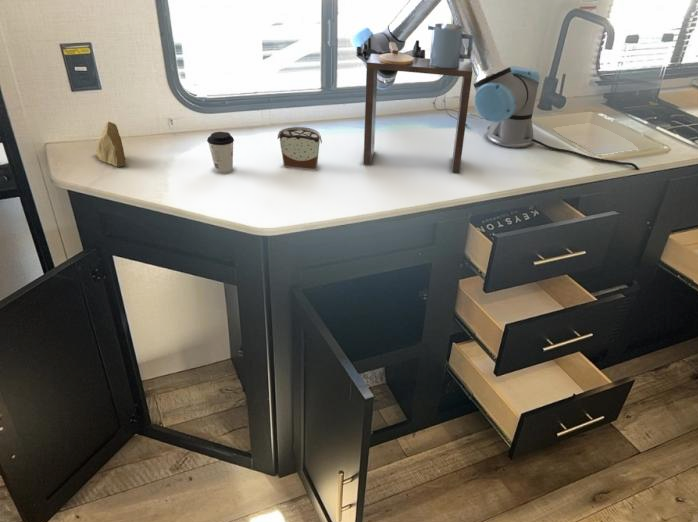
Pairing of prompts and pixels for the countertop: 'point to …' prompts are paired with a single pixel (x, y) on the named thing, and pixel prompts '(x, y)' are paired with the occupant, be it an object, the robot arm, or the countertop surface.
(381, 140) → the countertop surface
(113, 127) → the rock
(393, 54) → the lid
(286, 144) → the food container
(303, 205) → the countertop surface
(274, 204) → the countertop surface
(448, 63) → the jug
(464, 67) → the riser
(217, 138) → the coffee cup
